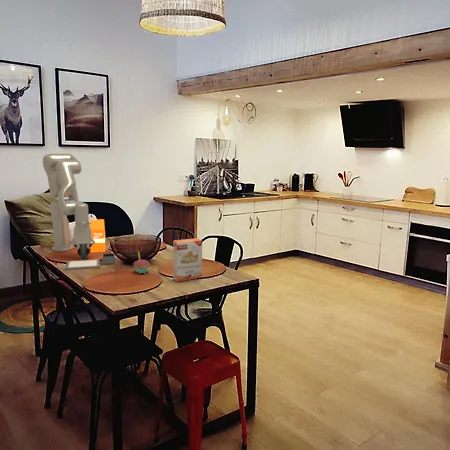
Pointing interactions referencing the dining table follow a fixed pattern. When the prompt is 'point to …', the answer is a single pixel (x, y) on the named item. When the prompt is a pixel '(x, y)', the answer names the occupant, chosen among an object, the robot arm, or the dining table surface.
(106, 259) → the grey square block
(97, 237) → the orange juice
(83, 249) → the marker
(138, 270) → the cupcake
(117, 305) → the dining table surface
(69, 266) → the writing board
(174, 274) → the cracker box
